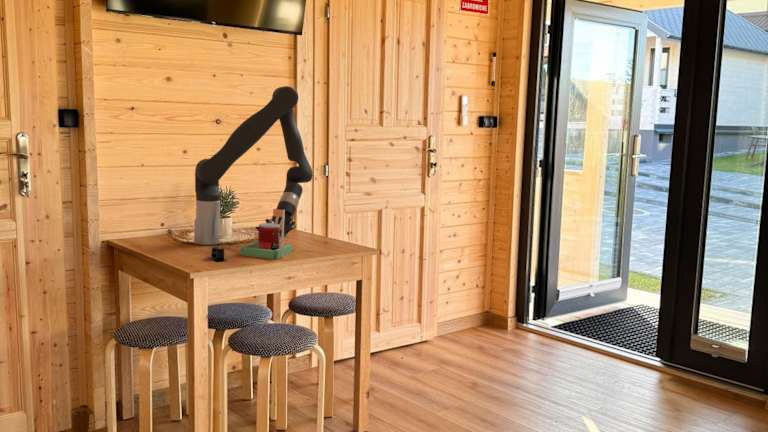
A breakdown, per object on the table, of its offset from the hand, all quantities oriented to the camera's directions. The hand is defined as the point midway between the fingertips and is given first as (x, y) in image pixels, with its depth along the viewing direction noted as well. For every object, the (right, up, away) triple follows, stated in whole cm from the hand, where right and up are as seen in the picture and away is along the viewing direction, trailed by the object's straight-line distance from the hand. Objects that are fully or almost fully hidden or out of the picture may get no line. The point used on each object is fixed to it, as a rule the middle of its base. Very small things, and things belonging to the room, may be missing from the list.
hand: (273, 241), depth 274 cm
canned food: (-1, -5, -4) cm, 6 cm away
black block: (-17, -6, -18) cm, 26 cm away
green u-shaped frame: (-2, -4, -4) cm, 6 cm away
